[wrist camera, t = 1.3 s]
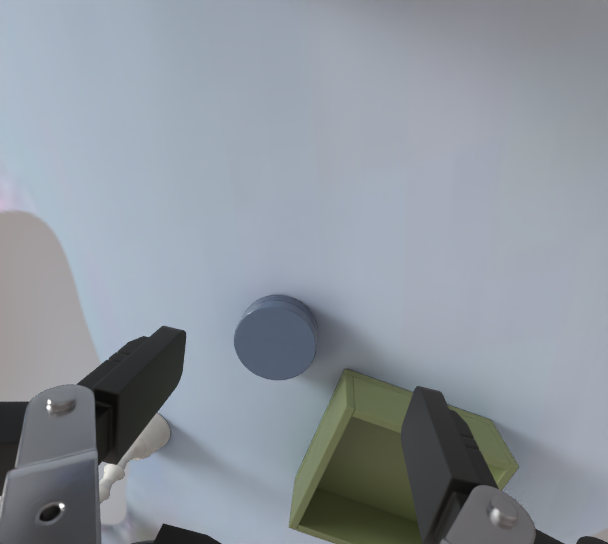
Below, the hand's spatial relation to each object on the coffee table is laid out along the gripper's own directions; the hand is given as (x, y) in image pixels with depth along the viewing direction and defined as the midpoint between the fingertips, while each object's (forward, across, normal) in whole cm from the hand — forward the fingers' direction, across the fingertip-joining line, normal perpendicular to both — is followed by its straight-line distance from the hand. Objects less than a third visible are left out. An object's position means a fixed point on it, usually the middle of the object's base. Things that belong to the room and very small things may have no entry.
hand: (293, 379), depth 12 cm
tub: (+16, -10, +16) cm, 25 cm away
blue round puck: (+16, +2, +7) cm, 17 cm away
